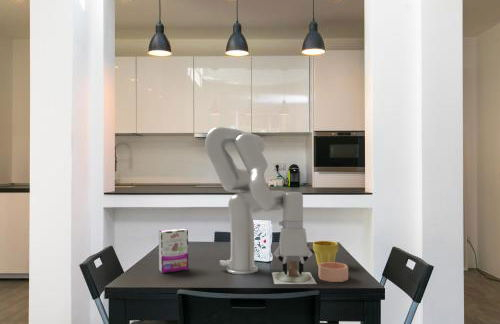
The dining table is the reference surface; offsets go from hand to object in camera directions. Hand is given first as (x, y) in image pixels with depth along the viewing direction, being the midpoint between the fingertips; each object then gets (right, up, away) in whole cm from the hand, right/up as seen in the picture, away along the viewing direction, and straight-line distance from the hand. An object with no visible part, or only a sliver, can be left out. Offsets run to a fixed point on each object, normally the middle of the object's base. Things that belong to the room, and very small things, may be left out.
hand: (293, 273), depth 145 cm
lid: (0, -2, 0) cm, 2 cm away
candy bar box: (-47, -3, +13) cm, 49 cm away
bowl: (+15, -2, 0) cm, 15 cm away
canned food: (+8, -3, +50) cm, 51 cm away
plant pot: (+16, -3, +19) cm, 25 cm away
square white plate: (0, -2, 0) cm, 2 cm away
